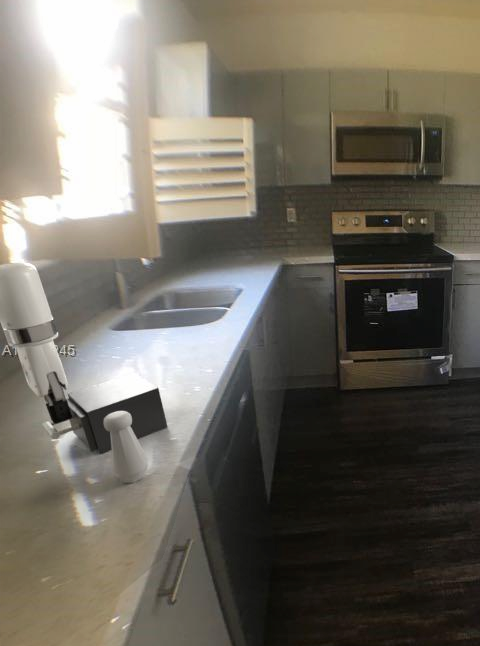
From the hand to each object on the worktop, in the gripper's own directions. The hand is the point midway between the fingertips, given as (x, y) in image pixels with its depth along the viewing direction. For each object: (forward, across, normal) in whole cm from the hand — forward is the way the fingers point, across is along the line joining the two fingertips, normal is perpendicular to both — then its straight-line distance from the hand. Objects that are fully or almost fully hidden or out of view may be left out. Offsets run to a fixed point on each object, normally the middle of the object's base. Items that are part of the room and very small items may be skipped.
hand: (62, 419), depth 90 cm
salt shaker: (+7, +19, +5) cm, 21 cm away
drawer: (+6, 0, +6) cm, 8 cm away
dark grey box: (+7, 0, +10) cm, 12 cm away
